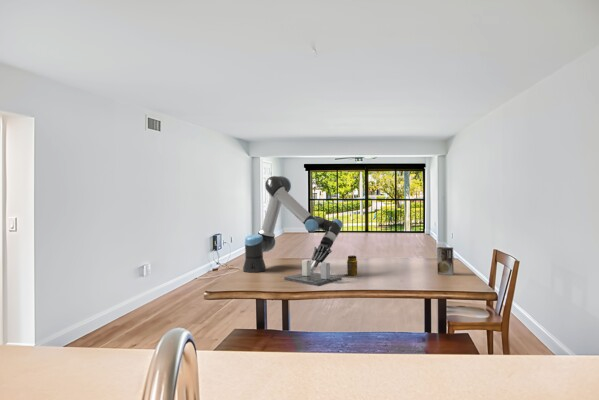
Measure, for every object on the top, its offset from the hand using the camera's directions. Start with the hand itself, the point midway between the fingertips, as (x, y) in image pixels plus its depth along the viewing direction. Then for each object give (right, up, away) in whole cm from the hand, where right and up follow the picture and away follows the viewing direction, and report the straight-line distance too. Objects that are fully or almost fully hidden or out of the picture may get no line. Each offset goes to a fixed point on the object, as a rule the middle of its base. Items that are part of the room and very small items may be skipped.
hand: (311, 270), depth 260 cm
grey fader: (+8, -3, -12) cm, 14 cm away
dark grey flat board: (+1, -4, -6) cm, 8 cm away
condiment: (+25, -4, +4) cm, 25 cm away
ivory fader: (-3, -3, -1) cm, 4 cm away
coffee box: (+83, -3, +4) cm, 83 cm away
